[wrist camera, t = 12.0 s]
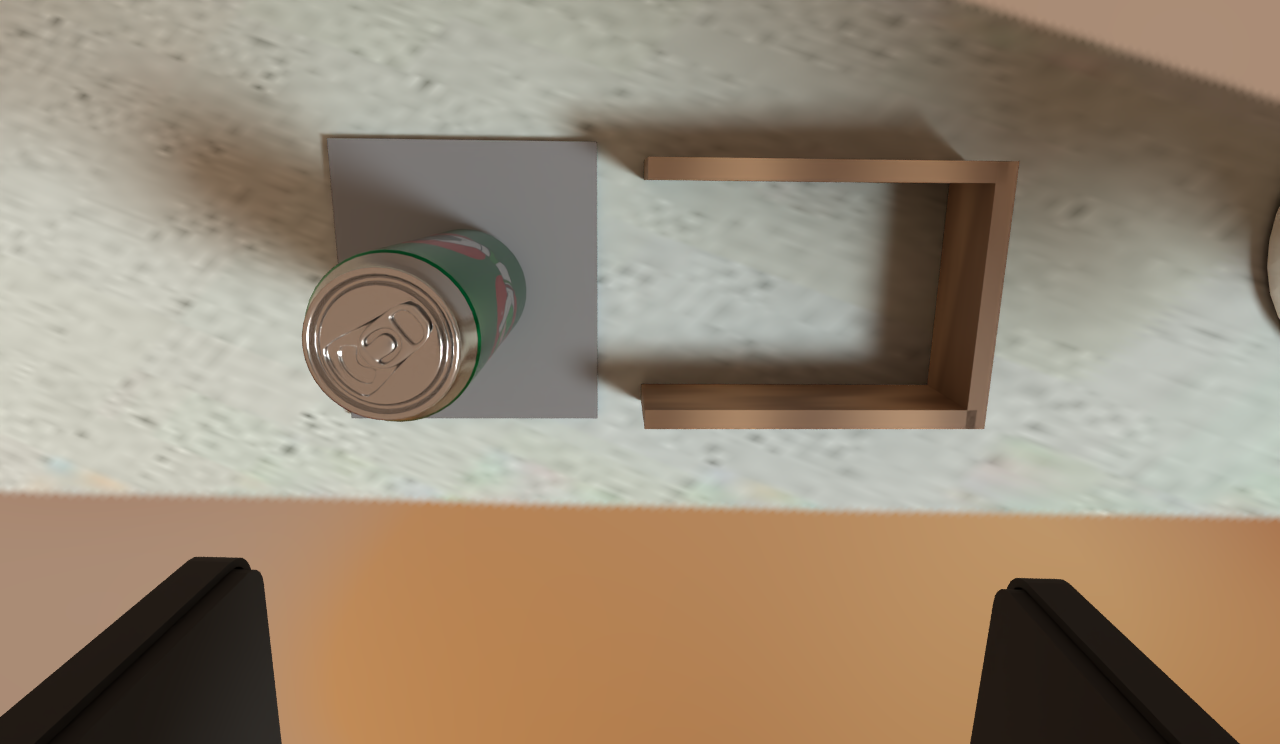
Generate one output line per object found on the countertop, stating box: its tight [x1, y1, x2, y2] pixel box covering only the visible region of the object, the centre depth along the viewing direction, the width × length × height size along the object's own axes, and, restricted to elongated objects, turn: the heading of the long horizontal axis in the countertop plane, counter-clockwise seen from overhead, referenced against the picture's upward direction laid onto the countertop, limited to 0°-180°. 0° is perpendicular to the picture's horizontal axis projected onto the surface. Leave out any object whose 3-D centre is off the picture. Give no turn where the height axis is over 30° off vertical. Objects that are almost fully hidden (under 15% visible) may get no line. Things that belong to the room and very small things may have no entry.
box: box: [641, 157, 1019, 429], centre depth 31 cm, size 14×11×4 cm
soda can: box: [302, 229, 526, 422], centre depth 26 cm, size 5×5×12 cm
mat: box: [327, 138, 597, 418], centre depth 32 cm, size 11×12×1 cm
